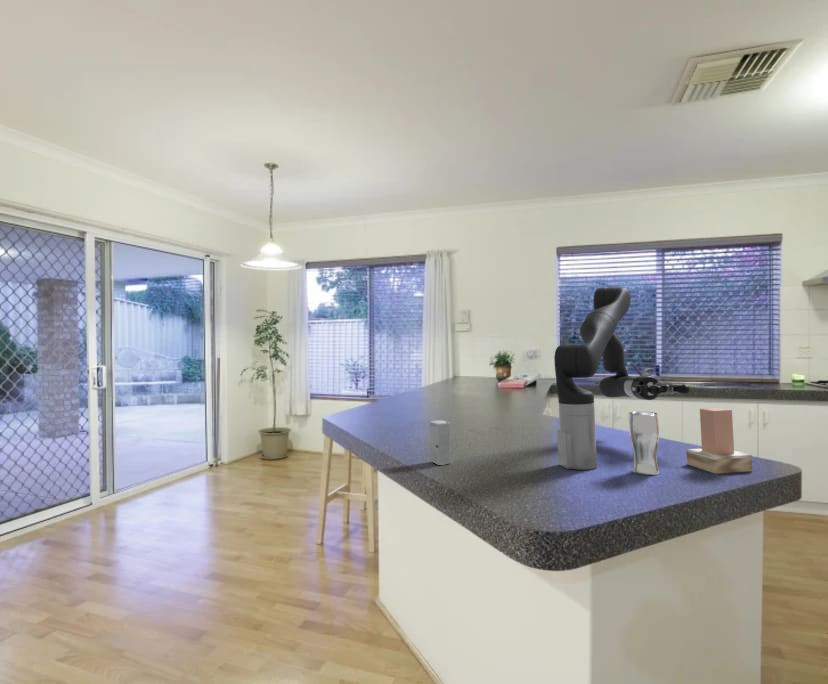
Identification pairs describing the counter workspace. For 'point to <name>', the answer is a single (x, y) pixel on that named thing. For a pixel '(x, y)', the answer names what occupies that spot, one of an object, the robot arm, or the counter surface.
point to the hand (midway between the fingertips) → (673, 390)
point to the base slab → (719, 461)
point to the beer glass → (644, 442)
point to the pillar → (717, 431)
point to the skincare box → (440, 441)
